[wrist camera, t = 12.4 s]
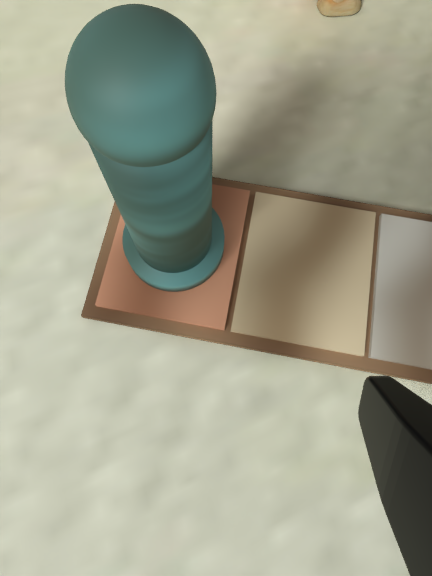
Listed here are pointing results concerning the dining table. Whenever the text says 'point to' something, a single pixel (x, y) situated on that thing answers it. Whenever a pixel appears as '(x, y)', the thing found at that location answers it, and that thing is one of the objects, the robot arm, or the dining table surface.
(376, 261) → the board
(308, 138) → the dining table surface
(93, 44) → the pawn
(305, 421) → the dining table surface
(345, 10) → the grandmother figurine
